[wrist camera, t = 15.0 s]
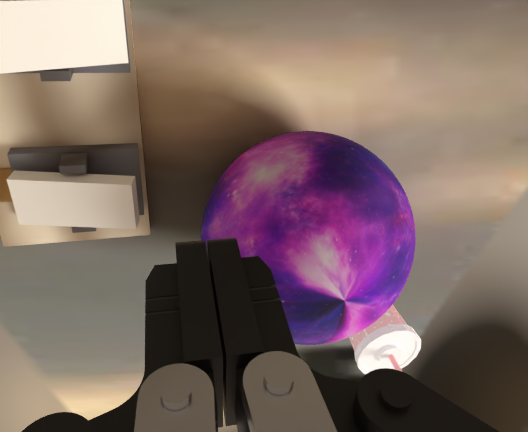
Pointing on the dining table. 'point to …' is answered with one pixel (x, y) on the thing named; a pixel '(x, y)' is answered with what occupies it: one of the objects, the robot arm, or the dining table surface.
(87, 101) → the switch board
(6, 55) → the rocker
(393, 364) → the beverage cup
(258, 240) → the decorative orb
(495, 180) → the dining table surface
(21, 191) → the block
